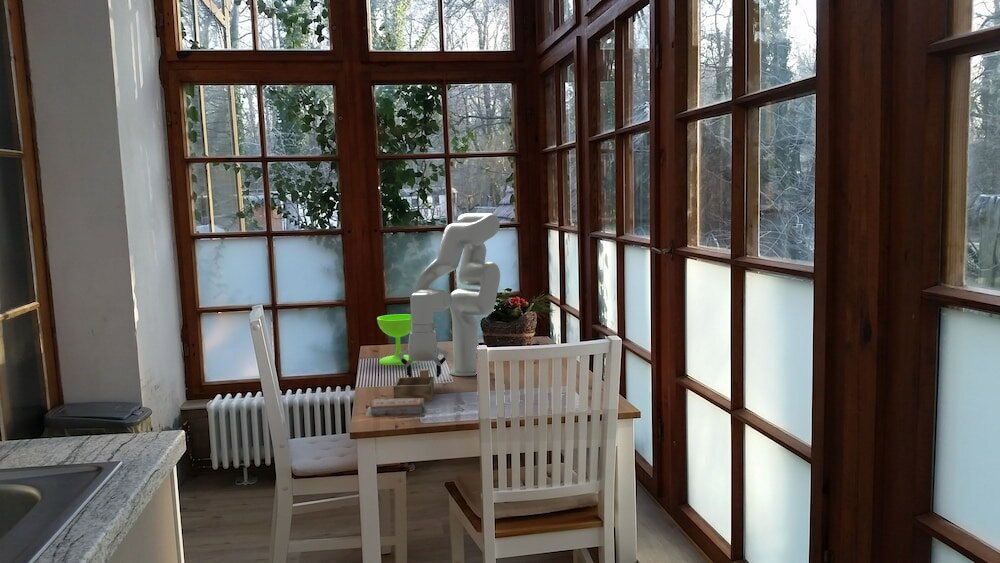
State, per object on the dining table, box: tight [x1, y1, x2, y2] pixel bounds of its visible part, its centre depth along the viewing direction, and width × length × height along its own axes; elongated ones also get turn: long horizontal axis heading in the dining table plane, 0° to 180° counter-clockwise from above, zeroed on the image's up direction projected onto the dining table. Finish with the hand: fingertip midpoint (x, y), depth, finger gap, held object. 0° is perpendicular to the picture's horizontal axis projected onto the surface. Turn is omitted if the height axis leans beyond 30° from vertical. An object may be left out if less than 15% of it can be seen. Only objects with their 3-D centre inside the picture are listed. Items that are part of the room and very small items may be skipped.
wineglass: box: [376, 313, 418, 366], centre depth 310 cm, size 16×16×18 cm
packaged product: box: [365, 398, 426, 420], centre depth 235 cm, size 18×5×10 cm
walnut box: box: [393, 376, 435, 402], centre depth 251 cm, size 12×12×6 cm
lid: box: [419, 368, 430, 377], centre depth 266 cm, size 13×13×7 cm
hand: (424, 377), depth 266 cm, fingers open, 9 cm apart
